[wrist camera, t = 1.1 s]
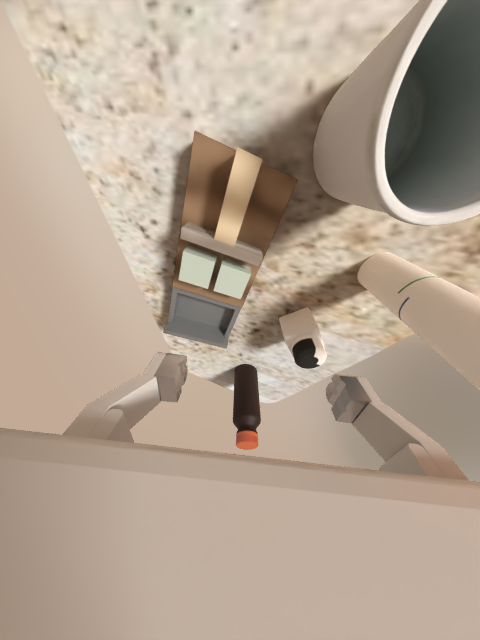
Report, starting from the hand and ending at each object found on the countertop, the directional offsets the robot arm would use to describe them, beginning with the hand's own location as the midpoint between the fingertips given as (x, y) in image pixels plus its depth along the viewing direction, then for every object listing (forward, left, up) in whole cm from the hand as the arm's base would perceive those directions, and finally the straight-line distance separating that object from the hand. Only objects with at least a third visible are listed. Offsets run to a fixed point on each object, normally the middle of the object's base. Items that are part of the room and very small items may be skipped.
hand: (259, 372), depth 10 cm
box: (+17, -4, -29) cm, 34 cm away
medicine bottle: (+14, +18, -29) cm, 37 cm away
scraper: (-4, -4, -25) cm, 26 cm away
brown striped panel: (+1, -4, -29) cm, 29 cm away
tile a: (+6, -7, -25) cm, 26 cm away
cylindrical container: (-3, +26, -29) cm, 39 cm away
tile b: (+6, -1, -25) cm, 26 cm away
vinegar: (+36, +13, -29) cm, 48 cm away
